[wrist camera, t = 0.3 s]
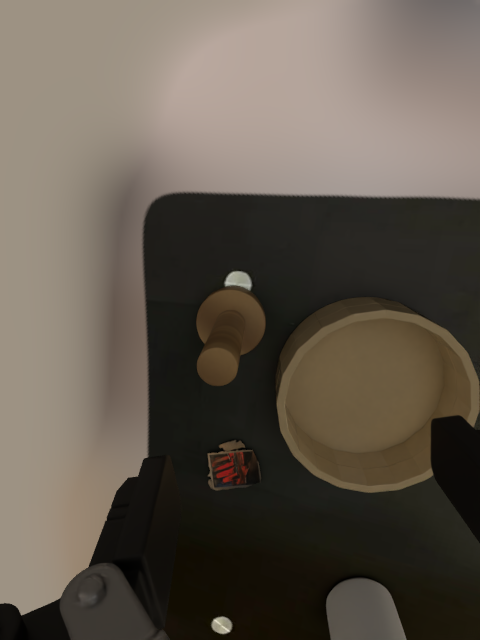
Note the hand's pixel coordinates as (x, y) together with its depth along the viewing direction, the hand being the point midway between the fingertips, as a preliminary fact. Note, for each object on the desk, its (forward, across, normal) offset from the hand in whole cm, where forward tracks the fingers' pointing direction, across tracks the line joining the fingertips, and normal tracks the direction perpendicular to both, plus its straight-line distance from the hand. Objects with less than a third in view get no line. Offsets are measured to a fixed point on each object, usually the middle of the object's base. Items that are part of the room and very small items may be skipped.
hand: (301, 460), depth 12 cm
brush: (+21, +2, +2) cm, 21 cm away
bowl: (+20, -8, +9) cm, 23 cm away
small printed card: (+20, +4, +15) cm, 26 cm away
